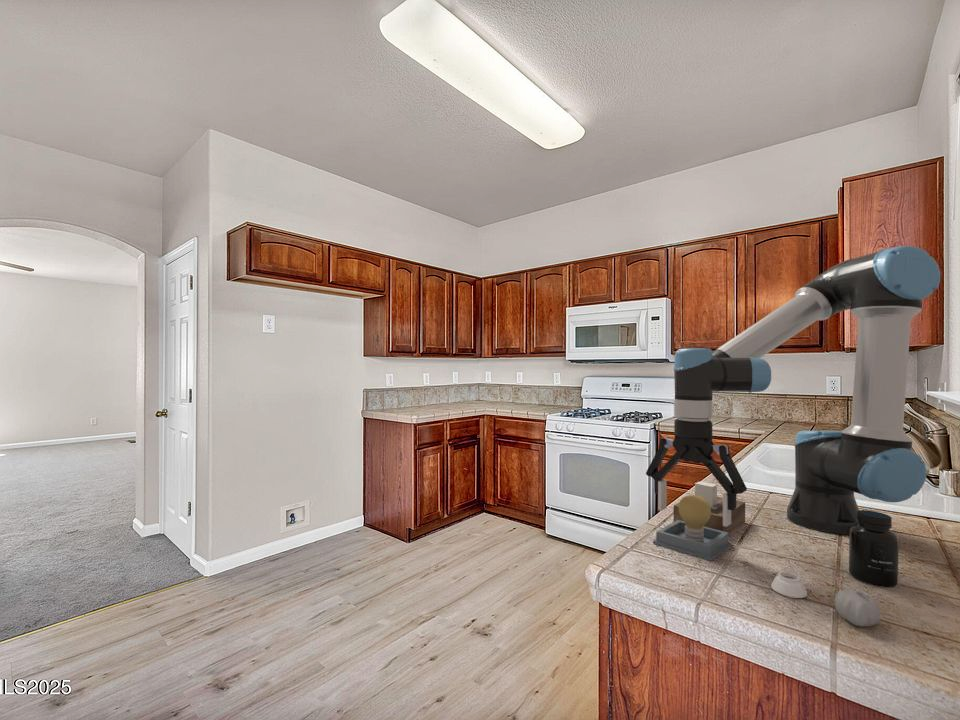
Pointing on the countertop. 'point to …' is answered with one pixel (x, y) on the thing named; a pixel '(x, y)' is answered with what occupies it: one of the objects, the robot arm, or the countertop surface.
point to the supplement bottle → (874, 549)
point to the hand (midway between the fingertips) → (693, 516)
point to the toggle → (707, 492)
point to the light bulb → (694, 516)
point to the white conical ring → (789, 585)
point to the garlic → (857, 607)
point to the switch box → (720, 516)
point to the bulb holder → (693, 541)
